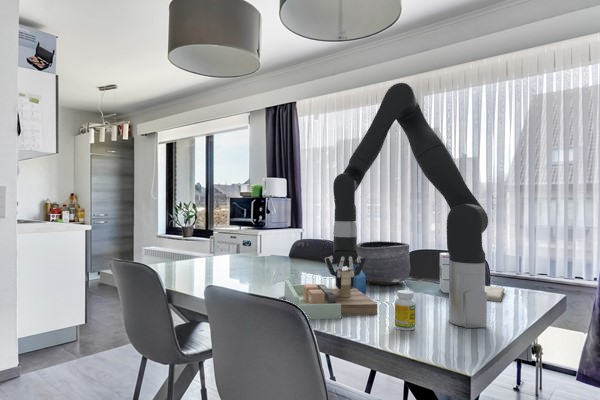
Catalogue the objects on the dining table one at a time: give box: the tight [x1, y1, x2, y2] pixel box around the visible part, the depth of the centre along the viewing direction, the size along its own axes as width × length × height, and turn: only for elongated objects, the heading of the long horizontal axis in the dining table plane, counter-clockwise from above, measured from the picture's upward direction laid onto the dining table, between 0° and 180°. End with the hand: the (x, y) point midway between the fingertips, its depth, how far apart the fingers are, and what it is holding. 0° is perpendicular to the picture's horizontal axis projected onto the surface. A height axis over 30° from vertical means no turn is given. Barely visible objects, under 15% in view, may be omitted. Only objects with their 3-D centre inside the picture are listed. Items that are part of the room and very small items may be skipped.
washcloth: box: [485, 285, 505, 303], centre depth 143 cm, size 12×18×3 cm, turn 149°
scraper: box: [318, 269, 351, 302], centre depth 125 cm, size 16×8×8 cm, turn 9°
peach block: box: [309, 290, 324, 304], centre depth 120 cm, size 5×5×4 cm
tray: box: [283, 279, 342, 320], centre depth 124 cm, size 28×13×6 cm, turn 8°
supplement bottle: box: [394, 289, 417, 331], centre depth 103 cm, size 5×5×10 cm
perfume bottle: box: [346, 260, 367, 295], centre depth 143 cm, size 6×6×12 cm
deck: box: [324, 288, 378, 316], centre depth 126 cm, size 22×12×3 cm, turn 8°
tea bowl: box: [356, 240, 411, 286], centre depth 163 cm, size 25×22×17 cm
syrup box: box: [439, 252, 449, 294], centre depth 148 cm, size 6×6×14 cm
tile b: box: [303, 283, 318, 303], centre depth 128 cm, size 5×5×4 cm
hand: (344, 288), depth 125 cm, fingers closed on scraper, 3 cm apart
